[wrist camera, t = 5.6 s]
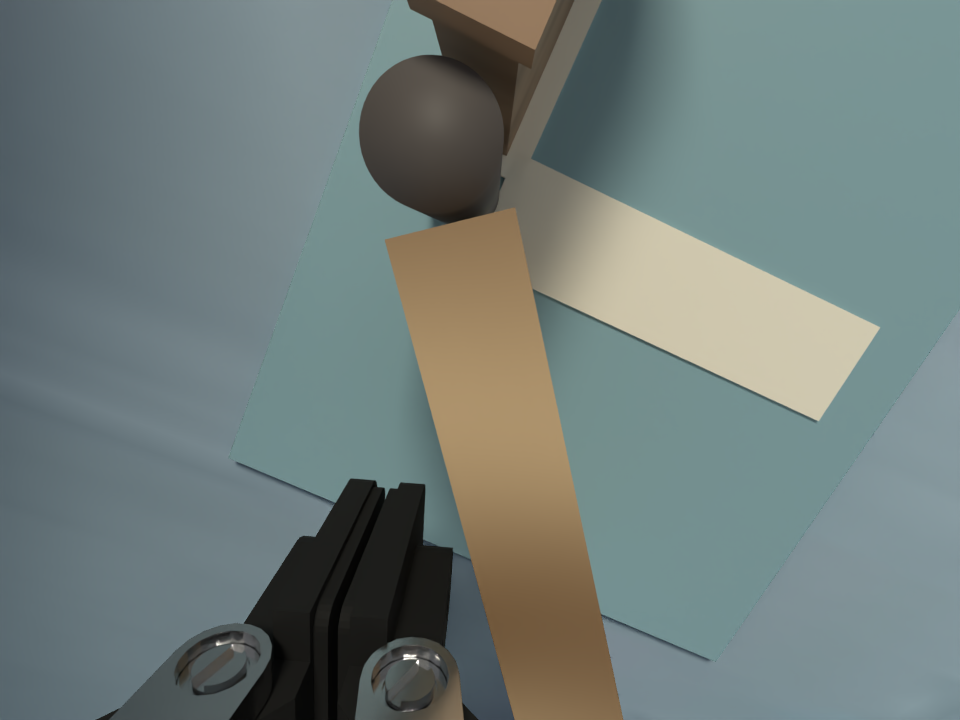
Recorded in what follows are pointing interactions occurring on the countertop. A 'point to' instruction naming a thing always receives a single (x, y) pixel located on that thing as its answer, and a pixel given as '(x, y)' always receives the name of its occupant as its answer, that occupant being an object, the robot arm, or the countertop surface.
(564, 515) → the panel
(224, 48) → the countertop surface
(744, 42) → the board
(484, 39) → the fixed fence panel
